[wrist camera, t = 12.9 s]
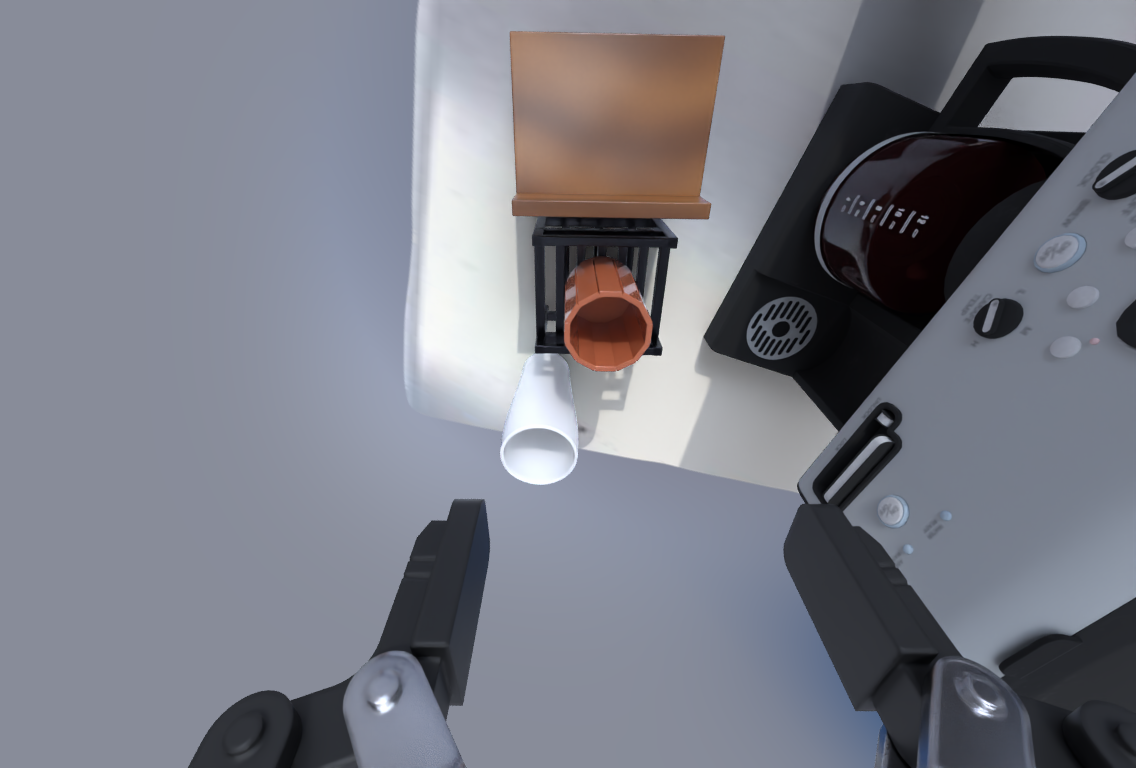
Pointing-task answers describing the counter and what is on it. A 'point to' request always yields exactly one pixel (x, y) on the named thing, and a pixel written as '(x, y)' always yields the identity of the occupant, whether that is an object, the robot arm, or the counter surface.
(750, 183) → the counter surface
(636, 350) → the cup
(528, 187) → the wooden open box
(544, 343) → the rack
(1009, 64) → the coffee maker
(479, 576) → the robot arm
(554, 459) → the drinking glass
